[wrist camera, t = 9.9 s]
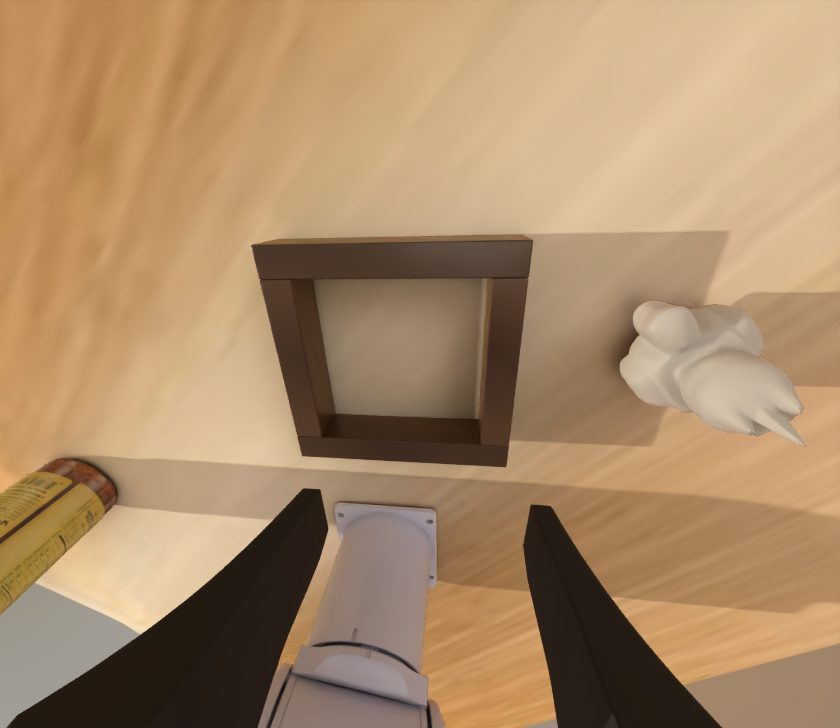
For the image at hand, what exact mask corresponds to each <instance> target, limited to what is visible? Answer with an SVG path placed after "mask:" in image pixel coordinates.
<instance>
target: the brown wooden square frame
mask: <svg viewBox="0 0 840 728" xmlns="http://www.w3.org/2000/svg"><path fill="white" fill-rule="evenodd" d="M532 245H533V240H532V239H530V238H528V237H526V236H524V235H472V236H422V237H371V238H321V239H277V240H272V241H267V242H263V243H258V244H253V245H251V247H252V252H253V256H254V260H255V264H256V268H257V272H258V276H259V279H261V280H260V284H261V288H262V292H263V296H264V300H265V304H266V309H267V313H268V317H269V321H270V325H271V329H272V333H273V337H274V342H275V346H276V350H277V354H278V358H279V362H280V366H281V370H282V374H283V379H284V383H285V387H286V391H287V395H288V399H289V403H290V407H291V412H292V416H293V420H294V424H295V428H296V432H297V435H298V441H299V445H300V449H301V453H302V456H309V457H327V458H346V459H364V460H383V461H401V462H419V463H438V464H456V465H475V466H493V467H506V466H507V457H508V449H509V446H508V445H509V440H510V431H511V423H512V414H513V406H514V397H515V389H516V380H517V372H518V363H519V355H520V346H521V338H522V329H523V321H524V312H525V304H526V295H527V287H528V277H529V270H530V262H531V253H532ZM423 278H487V290H486V306H485V322H484V338H483V354H482V370H481V386H480V402H479V418H478V420H469V419H443V418H418V417H393V416H367V415H342V414H335V409H334V403H333V398H332V392H331V386H330V380H329V374H328V369H327V363H326V357H325V351H324V345H323V339H322V334H321V328H320V322H319V316H318V310H317V305H316V299H315V293H314V287H313V281H312V279H423Z"/></svg>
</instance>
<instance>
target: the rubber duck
mask: <svg viewBox="0 0 840 728" xmlns="http://www.w3.org/2000/svg"><path fill="white" fill-rule="evenodd" d="M633 324H634V327H635V329H636V331H637V332H638V333H639V334H640V335H639V336H638V337H637V338H636V339H635V341H634V342H633V344H632V345H631V347H630V350H629V354H628V355H627V356H626V357H624V358H623V359H622V361H621V363H620V372H621V375H622V377H623V378H624V380H625V381H626V383H627V384H628V386H629V387H630V388H631V389H632V390H633V392H634V393H635V394H636V395H637V396H638V397H639V398H640V399H641V400H642V401H644V402H646V403H648V404H651V405H654V406H659V407H673V408H675V409H677V410H679V411H681V412H693V413H694V414H696V415H697V416H698V417H699V418H700V419H701V420H702V421H704V422H705V423H706V424H707V425H709V426H710V427H712V428H714V429H717V430H720V431H724V432H736V433H743V434H747V435H754V436H759V435H762V434H765V433H767V432H769V431H773V432H775V433H777V434H779V435H781V436H782V437H784V438H786V439H788V440H790V441H793V442H795V443H797V444H799V445H802V446H804V447H807V446H806V445H805V443H804V441H803V440H802V438H801V437H800V435H799V434H798V433H797V431H796V430H795V429H794V428H793V427H792V425H791V424H790V423H789V421H791V420H792V419H793V418H794V417H795V416H796V415H798V414H801V413H802V412H804V411H803V410H804V408H803V406H802V403H801V402H800V400H799V398H798V397H797V394H796V392H795V388H794V384H793V382H792V380H791V378H790V377H789V376H788V375H787V373H786V372H784V371H783V370H782V369H781V368H779V367H778V366H776V365H774V364H772V363H770V362H768V361H766V360H764V359H762V358H760V357H759V356H760V354H761V352H762V349H763V337H762V334H761V332H760V330H759V329H758V327H757V326H756V324H755V323H754V321H753V320H752V318H751V317H750V315H749V314H748V313H747V312H745V311H743V310H741V309H738V308H734V307H730V306H726V305H718V304H713V305H707V306H704V307H702V308H692V309H687V308H686V307H684V306H679V305H671V304H669V303H666V302H663V301H657V300H650V301H647V302H645V303H643V304H642V305H640V306H639V307H638V308H637V309H636V310H635V312H634V315H633Z"/></svg>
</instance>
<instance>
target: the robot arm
mask: <svg viewBox="0 0 840 728" xmlns="http://www.w3.org/2000/svg"><path fill="white" fill-rule="evenodd" d="M334 513H335V518H336V522H337V527H338V532H339V537H340V542H341V544H340V547H339V550H338V553H337V556H336V559H335V561H334V564H333V567H332V570H331V573H330V576H329V579H328V582H327V585H326V588H325V590H324V593H323V596H322V599H321V602H320V605H319V608H318V611H317V614H316V617H315V619H314V622H313V625H312V628H311V631H310V634H309V637H308V640H307V643H306V645H302V646H301V647H300V650H299V653H298V656H297V659H296V661H295V664H294V667H293V665H292V664H288V663H283V664H282V665H280V667H279V668H278V669H277V666H278V663H279V659H280V656H281V653H282V650H283V648H284V645H285V643H286V640H287V637H288V635H289V632H290V630H291V627H292V625H293V623H294V620H295V618H296V615H297V613H298V611H299V608H300V606H301V603H302V601H303V599H304V596H305V594H306V591H307V589H308V587H309V584H310V582H311V579H312V577H313V575H314V572H315V570H316V567H317V565H318V562H319V560H320V556H321V553H322V550H323V547H324V543H325V540H326V536H327V533H328V524H327V519H326V514H325V510H324V505H323V500H322V495H321V490H320V489H307V488H304V489H302V490H301V491H300V492H299V493H298V494H297V495H296V496H295V498H294V499H293V500H292V501H291V502H290V503H289V504H288V505H287V506H286V507H285V508H284V509H283V510H282V511H281V512H280V513H279V514H278V515H277V516H276V518H275V519H274V520H273V521H272V522H271V523H270V524H269V525H268V526H267V527H266V528H265V529H264V530H263V531H262V532H261V533H260V534H259V535H258V536H257V537H256V538H255V539H254V540H253V541H252V542H251V543H250V544H249V545H248V546H247V547H246V548H245V549H244V550H242V551H241V552H240V553H239V554H238V555H237V556H236V557H235V558H234V559H233V560H232V561H231V562H230V563H229V564H227V565H226V566H225V567H224V568H223V569H222V570H221V571H220V572H219V573H217V574H216V575H215V576H214V577H213V578H212V579H211V580H210V581H208V582H207V583H206V584H205V585H204V586H202V587H201V588H200V589H199V590H198V591H196V592H195V593H194V594H193V595H192V596H190V597H189V598H188V599H187V600H186V601H184V602H183V603H182V604H180V605H179V606H178V607H177V608H175V609H174V610H173V611H171V612H170V613H169V614H168V615H166V616H165V617H164V618H162V619H161V620H160V621H158V622H157V623H156V624H155V625H153V626H152V627H151V628H149V629H148V630H146V631H145V632H144V633H142V634H141V635H140V636H138V637H137V638H136V639H134V640H132V641H131V642H130V643H128V644H127V645H125V646H124V647H122V648H121V649H119V650H118V651H117V652H115V653H114V654H112V655H111V656H109V657H108V658H107V659H105V660H104V661H102V662H101V663H99V664H98V665H96V666H95V667H93V668H92V669H90V670H89V671H87V672H86V673H84V674H83V675H81V676H80V677H78V678H76V679H75V680H73V681H72V682H70V683H68V684H67V685H65V686H64V687H62V688H61V689H59V690H57V691H56V692H54V693H52V694H51V695H49V696H48V697H46V698H44V699H43V700H41V701H40V702H38V703H37V704H35V705H33V706H32V707H30V708H28V709H27V710H25V711H23V712H22V713H20V714H18V715H17V716H16V717H15V719H14V720H13V721H12V722H11V723H10V724H9V725H8V726H7V727H6V728H446V724H445V721H444V719H443V717H442V715H441V713H440V709H439V707H438V705H437V703H436V702H435V701H434V700H431V699H427V696H428V680H429V678H428V677H427V676H424V675H421V669H422V656H423V644H424V631H425V619H426V606H427V593H428V587H435V586H436V585H437V548H436V512H435V511H434V510H433V509H427V508H412V507H398V506H383V505H369V504H354V503H337V504H336V505H335V507H334ZM429 519H430V520H429ZM523 547H524V555H525V563H526V571H527V578H528V583H529V588H530V592H531V596H532V601H533V605H534V610H535V614H536V618H537V622H538V627H539V631H540V635H541V640H542V644H543V648H544V652H545V657H546V661H547V665H548V670H549V675H550V680H551V686H552V692H553V699H554V705H555V711H556V718H557V724H558V728H722V727H721V726H720V725H719V724H718V723H717V722H716V721H715V720H714V718H713V717H712V716H711V715H710V714H709V713H708V712H707V711H706V710H705V709H704V708H703V707H702V705H701V704H700V703H699V702H698V701H697V700H696V699H695V698H694V697H693V696H692V695H691V694H690V693H689V691H688V690H687V689H686V688H685V687H684V686H683V685H682V684H681V683H680V682H679V681H678V679H677V678H676V677H675V676H674V675H673V674H672V672H671V671H670V670H669V669H668V668H667V667H666V666H665V664H664V663H663V662H662V661H661V660H660V659H659V657H658V656H657V655H656V654H655V653H654V652H653V650H652V649H651V648H650V647H649V645H648V644H647V643H646V642H645V641H644V639H643V638H642V637H641V636H640V635H639V633H638V632H637V631H636V630H635V628H634V627H633V626H632V625H631V623H630V622H629V621H628V619H627V618H626V617H625V616H624V614H623V613H622V612H621V610H620V609H619V608H618V606H617V605H616V604H615V602H614V601H613V600H612V598H611V597H610V596H609V594H608V593H607V592H606V590H605V589H604V587H603V586H602V585H601V583H600V582H599V580H598V579H597V577H596V576H595V575H594V573H593V572H592V570H591V569H590V567H589V566H588V564H587V563H586V561H585V560H584V559H583V557H582V555H581V554H580V552H579V551H578V549H577V548H576V546H575V545H574V543H573V542H572V540H571V538H570V537H569V535H568V534H567V532H566V530H565V529H564V527H563V525H562V524H561V522H560V520H559V519H558V517H557V515H556V513H555V512H554V510H553V508H552V507H551V506H543V505H531V507H530V512H529V517H528V523H527V528H526V534H525V539H524V544H523ZM276 669H277V670H276Z"/></svg>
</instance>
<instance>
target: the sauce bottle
mask: <svg viewBox="0 0 840 728" xmlns="http://www.w3.org/2000/svg"><path fill="white" fill-rule="evenodd" d="M115 500H116V489H115V487H114V484H113V483H112V482H111V481H109V480H108V479H107V478H106V477H105V476H104V475H103V474H101V472H100V471H99V470H98V469H96V468H95V467H93V466H90V465H88V464H87V463H84V462H81V461H77V460H75V459H65V458H62V459H56V460H54V461H51V462H49V463H47V464H45V465H44V466H43V467H41V468H40V469H38V470H36V471H35V472H33V473H30V474H27V475H26V476H24V477H23V478H21V479H20V480H18V481H17V482H15V483H14V484H12V485H11V486H9V487H8V488H7V489H5V490H4V491H2V492H1V493H0V615H1V614H2V613H3V612H4V611H5V610H6V609H7V608H8V607H9V606H10V605H11V604H12V603H13V602H15V601H16V600H17V599H18V598H19V597H20V596H21V595H22V594H23V593H24V592H25V591H26V590H27V589H28V588H29V587H30V586H31V585H32V584H33V583H34V582H36V581H37V580H38V579H39V578H40V577H41V576H42V575H43V574H44V573H45V572H46V571H47V570H48V569H49V568H50V567H51V566H52V565H53V564H55V563H56V562H57V561H58V560H59V559H60V558H61V557H62V556H63V555H64V554H65V553H66V552H67V551H68V550H69V549H70V548H71V547H72V546H73V545H74V544H75V543H77V542H78V541H79V540H80V539H81V538H82V537H83V536H84V535H85V534H86V533H87V532H88V531H89V530H90V529H91V528H92V527H93V526H95V525H96V524H97V523H98V522H99V521H100V520H101V519H102V517H103V516H104V515H105V514H106V512H108V511H109V510H110V509H111V508H112V506H113V505H114V502H115Z"/></svg>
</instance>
